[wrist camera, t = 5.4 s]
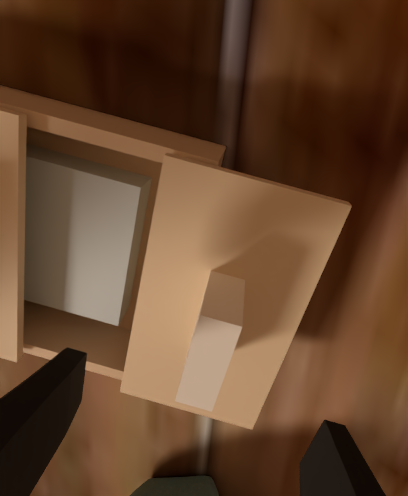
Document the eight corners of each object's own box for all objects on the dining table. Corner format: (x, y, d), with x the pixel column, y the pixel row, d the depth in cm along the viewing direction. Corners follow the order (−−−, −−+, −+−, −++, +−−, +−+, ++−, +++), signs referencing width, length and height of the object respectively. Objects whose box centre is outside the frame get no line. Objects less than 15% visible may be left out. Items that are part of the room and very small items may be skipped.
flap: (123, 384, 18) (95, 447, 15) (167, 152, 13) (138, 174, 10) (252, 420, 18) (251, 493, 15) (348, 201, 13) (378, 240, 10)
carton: (-47, 282, 22) (-101, 316, 19) (-66, 67, 17) (-145, 63, 13) (174, 344, 22) (159, 391, 18) (226, 145, 16) (218, 161, 13)
